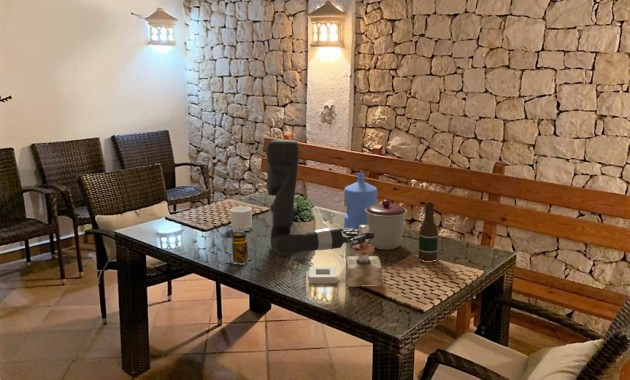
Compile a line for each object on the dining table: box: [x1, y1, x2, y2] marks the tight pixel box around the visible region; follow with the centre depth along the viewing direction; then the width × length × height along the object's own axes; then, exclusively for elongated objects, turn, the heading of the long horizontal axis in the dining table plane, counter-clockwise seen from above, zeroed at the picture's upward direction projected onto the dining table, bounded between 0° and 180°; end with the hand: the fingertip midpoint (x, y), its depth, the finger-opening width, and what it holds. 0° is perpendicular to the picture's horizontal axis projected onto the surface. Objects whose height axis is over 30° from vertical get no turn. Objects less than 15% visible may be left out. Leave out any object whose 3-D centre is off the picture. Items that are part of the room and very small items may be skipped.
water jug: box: [343, 172, 378, 230], centre depth 253 cm, size 16×16×28 cm
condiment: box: [231, 232, 249, 263], centre depth 216 cm, size 7×8×12 cm
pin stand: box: [308, 266, 338, 285], centre depth 200 cm, size 10×10×2 cm
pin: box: [352, 225, 376, 265], centre depth 195 cm, size 8×8×15 cm
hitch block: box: [345, 255, 383, 287], centre depth 197 cm, size 12×12×7 cm
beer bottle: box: [418, 201, 439, 261], centre depth 215 cm, size 8×8×24 cm
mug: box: [230, 206, 253, 229], centre depth 259 cm, size 13×10×10 cm
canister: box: [365, 199, 408, 251], centre depth 231 cm, size 18×18×21 cm
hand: (370, 233), depth 195 cm, fingers closed on pin, 3 cm apart
